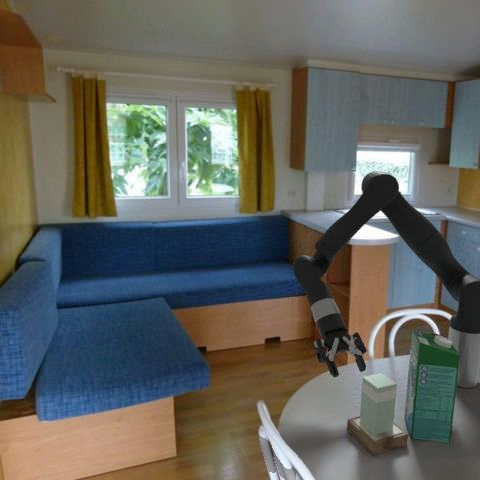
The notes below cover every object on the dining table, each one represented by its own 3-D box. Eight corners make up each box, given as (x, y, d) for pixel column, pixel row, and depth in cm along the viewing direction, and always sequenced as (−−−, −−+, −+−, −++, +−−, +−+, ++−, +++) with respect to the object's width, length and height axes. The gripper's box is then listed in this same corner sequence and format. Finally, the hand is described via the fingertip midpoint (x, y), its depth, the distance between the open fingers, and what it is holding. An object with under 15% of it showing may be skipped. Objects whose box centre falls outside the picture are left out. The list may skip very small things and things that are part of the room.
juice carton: (377, 416, 107) (380, 372, 105) (393, 429, 102) (397, 383, 100) (359, 421, 105) (362, 377, 103) (374, 435, 100) (377, 388, 98)
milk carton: (450, 443, 102) (461, 346, 97) (410, 438, 104) (419, 342, 99) (440, 421, 111) (450, 331, 106) (404, 417, 112) (412, 328, 108)
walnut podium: (379, 421, 110) (379, 410, 110) (407, 445, 101) (408, 433, 101) (346, 430, 107) (347, 418, 106) (373, 455, 98) (374, 443, 97)
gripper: (311, 315, 115) (333, 373, 107) (354, 309, 120) (379, 364, 112) (301, 326, 121) (321, 383, 113) (342, 320, 126) (365, 373, 118)
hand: (350, 373), depth 112 cm, fingers open, 8 cm apart
